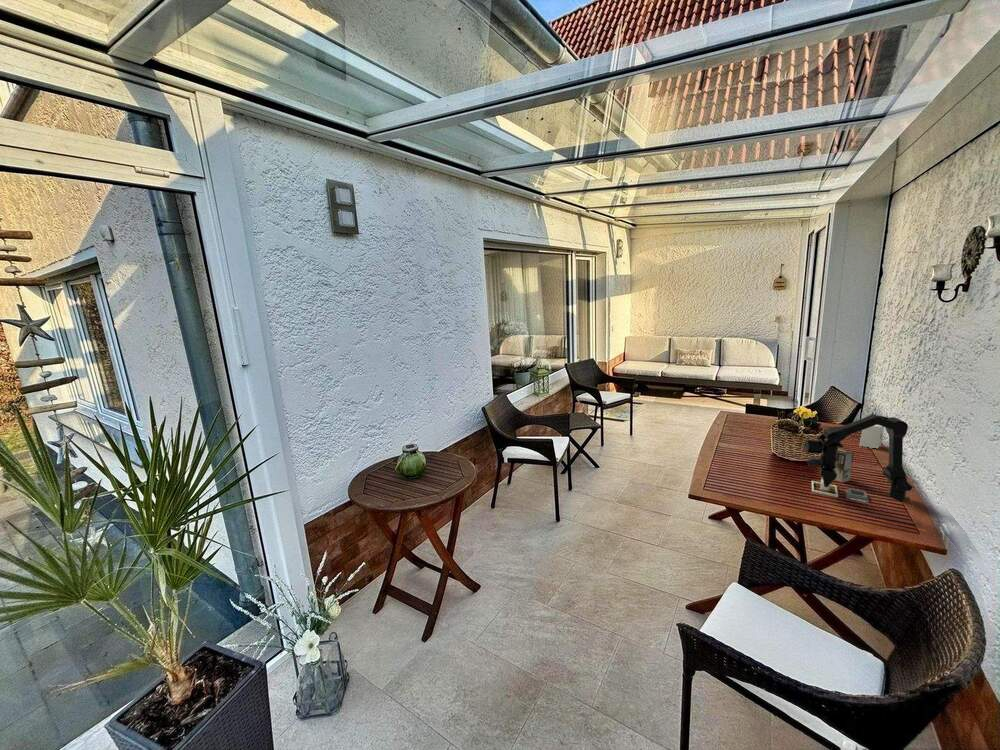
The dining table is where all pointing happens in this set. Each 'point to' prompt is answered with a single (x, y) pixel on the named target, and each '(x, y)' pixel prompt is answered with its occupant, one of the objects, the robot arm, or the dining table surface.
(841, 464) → the coffee box
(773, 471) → the dining table surface
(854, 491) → the socket block
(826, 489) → the banded cream cylinder
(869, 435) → the supplement box
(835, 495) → the pale green rectangular frame
